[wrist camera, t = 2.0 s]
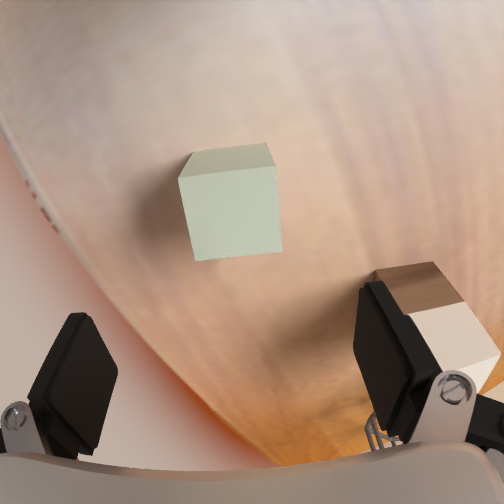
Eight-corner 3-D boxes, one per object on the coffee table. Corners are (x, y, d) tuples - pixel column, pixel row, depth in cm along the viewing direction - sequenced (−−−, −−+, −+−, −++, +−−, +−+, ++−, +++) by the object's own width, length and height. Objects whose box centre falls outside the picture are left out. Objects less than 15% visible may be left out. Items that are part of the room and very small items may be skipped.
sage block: (193, 152, 21) (177, 178, 16) (266, 142, 21) (275, 165, 16) (205, 217, 24) (195, 261, 18) (272, 209, 24) (282, 251, 18)
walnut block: (375, 269, 27) (401, 315, 21) (432, 261, 26) (464, 301, 21) (368, 320, 30) (387, 366, 25) (420, 310, 30) (445, 351, 24)
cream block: (401, 315, 21) (433, 377, 16) (464, 301, 21) (501, 353, 16) (387, 366, 25) (409, 423, 19) (445, 351, 24) (472, 402, 19)
